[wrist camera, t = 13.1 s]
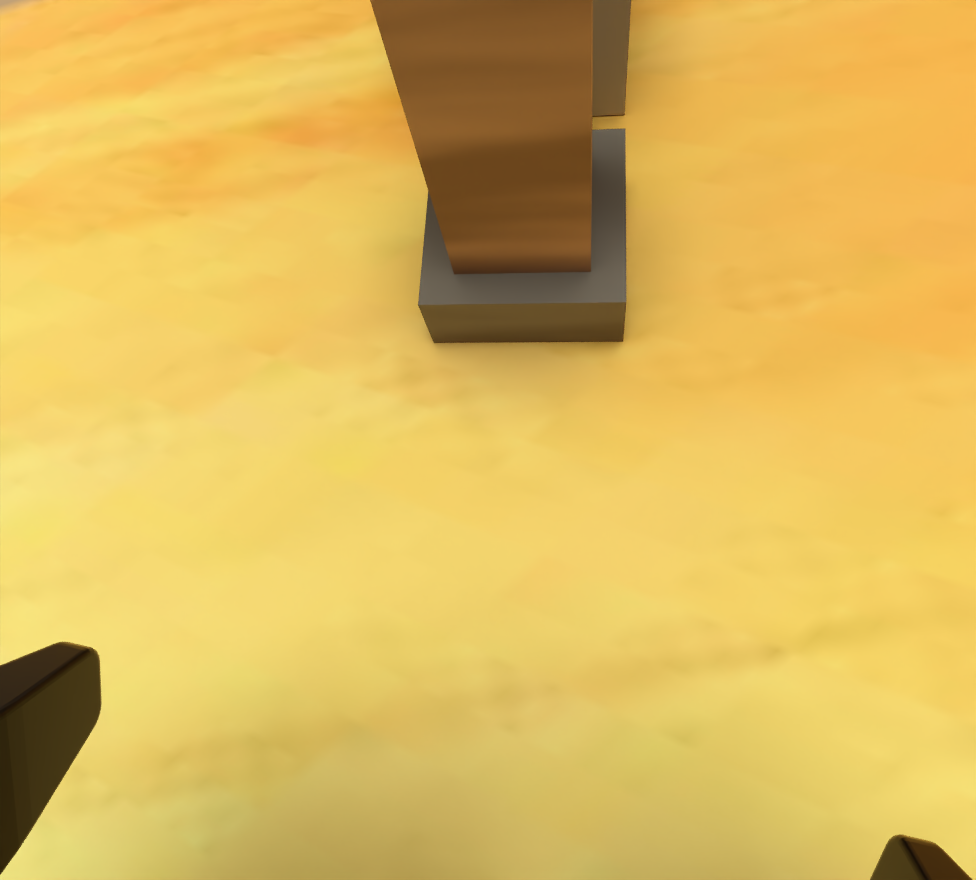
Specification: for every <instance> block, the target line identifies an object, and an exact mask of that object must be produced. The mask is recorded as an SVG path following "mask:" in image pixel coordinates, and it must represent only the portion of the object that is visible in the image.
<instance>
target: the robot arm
mask: <svg viewBox="0 0 976 880" xmlns="http://www.w3.org/2000/svg"><path fill="white" fill-rule="evenodd" d="M100 710H101V680H100V659H99V655H98V653H97V651H96V650H95V649H93V648H91V647H87V646H83V645H78V644H74V643H70V642H59V643H56V644H53V645H50V646H48V647H45V648H43V649H40V650H38V651H35V652H33V653H30V654H28V655H25V656H23V657H20V658H18V659H15V660H13V661H10V662H8V663H5V664H3V665H0V874H1V873H2V872H3V870H4V869H5V868H6V866H7V865H8V863H9V862H10V861H11V859H12V858H13V856H14V855H15V854H16V852H17V851H18V850H19V848H20V847H21V845H22V843H23V842H24V840H25V839H26V837H27V836H28V834H29V833H30V831H31V830H32V828H33V826H34V825H35V823H36V822H37V820H38V818H39V817H40V815H41V813H42V812H43V810H44V808H45V807H46V805H47V804H48V802H49V800H50V799H51V797H52V795H53V794H54V792H55V790H56V789H57V787H58V785H59V784H60V782H61V781H62V779H63V777H64V776H65V774H66V772H67V771H68V769H69V767H70V766H71V764H72V763H73V761H74V759H75V758H76V756H77V754H78V753H79V751H80V749H81V748H82V746H83V745H84V743H85V741H86V740H87V738H88V736H89V735H90V733H91V731H92V730H93V728H94V726H95V724H96V722H97V720H98V717H99V714H100ZM870 880H972V879H971V878H970V877H969V876H968V875H967V874H966V873H965V872H964V871H963V870H962V869H961V868H960V867H959V866H958V865H957V864H956V863H955V861H954V860H953V859H952V858H951V857H950V856H949V855H948V854H947V853H946V852H945V851H944V850H943V849H942V848H940V847H939V846H938V845H937V844H935V843H933V842H930V841H927V840H923V839H918V838H914V837H910V836H905V835H895V836H893V837H892V838H891V839H889V841H888V843H887V844H886V846H885V849H884V851H883V853H882V855H881V857H880V859H879V861H878V864H877V866H876V868H875V870H874V872H873V874H872V876H871V878H870Z"/></svg>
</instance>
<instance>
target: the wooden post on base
mask: <svg viewBox="0 0 976 880" xmlns="http://www.w3.org/2000/svg"><path fill="white" fill-rule="evenodd" d="M370 1H371V4H372V7H373V11H374V14H375V17H376V20H377V24H378V27H379V30H380V33H381V37H382V40H383V43H384V47H385V50H386V53H387V56H388V60H389V63H390V66H391V69H392V73H393V76H394V79H395V83H396V86H397V89H398V92H399V96H400V99H401V102H402V105H403V109H404V112H405V115H406V118H407V122H408V125H409V128H410V132H411V135H412V138H413V141H414V145H415V148H416V151H417V154H418V158H419V161H420V164H421V168H422V171H423V174H424V177H425V181H426V184H427V187H428V202H427V213H426V224H425V235H424V246H423V257H422V268H421V280H420V291H419V302H418V306H419V308H420V310H421V313H422V315H423V318H424V320H425V322H426V325H427V327H428V330H429V332H430V334H431V337H432V339H433V342H434V343H457V342H613V341H623V333H624V321H625V310H626V173H625V129H603V130H592V77H593V0H370Z"/></svg>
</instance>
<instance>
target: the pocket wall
mask: <svg viewBox="0 0 976 880" xmlns="http://www.w3.org/2000/svg"><path fill="white" fill-rule="evenodd" d="M630 9H631V0H593V77H592V116H605V115H624V112H625V95H626V78H627V60H628V43H629V26H630Z"/></svg>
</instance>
